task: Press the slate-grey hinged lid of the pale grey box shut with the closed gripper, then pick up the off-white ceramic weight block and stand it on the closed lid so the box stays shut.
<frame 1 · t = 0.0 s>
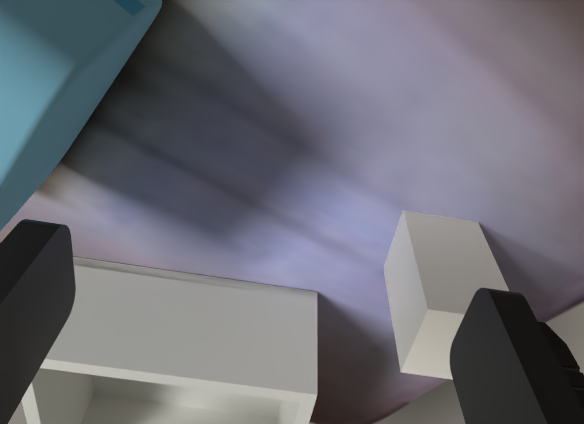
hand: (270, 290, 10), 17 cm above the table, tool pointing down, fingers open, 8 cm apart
ceramic weight: (428, 245, 31), on the table
data package: (70, 58, 25), on the table
storage box: (191, 345, 37), on the table
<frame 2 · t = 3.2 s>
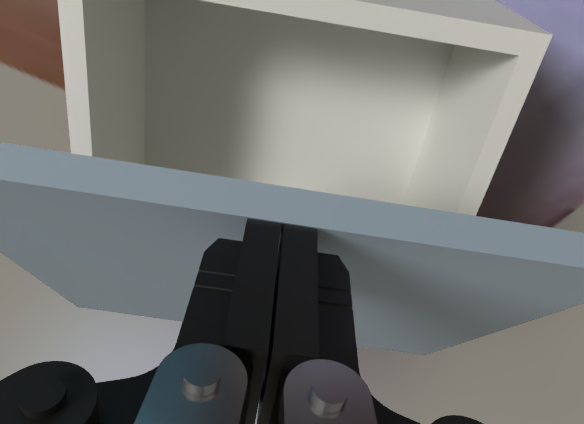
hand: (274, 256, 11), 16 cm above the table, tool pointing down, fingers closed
box lid: (264, 286, 17), point 12 cm above the table, hinge at 34.6°, touching gripper
storage box: (287, 108, 26), on the table
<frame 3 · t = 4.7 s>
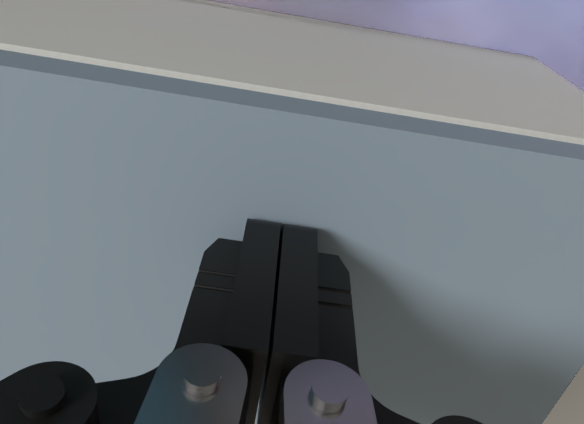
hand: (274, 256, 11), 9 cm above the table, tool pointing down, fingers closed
box lid: (254, 356, 13), point 9 cm above the table, hinge at 1.2°, touching gripper
storage box: (274, 195, 21), on the table
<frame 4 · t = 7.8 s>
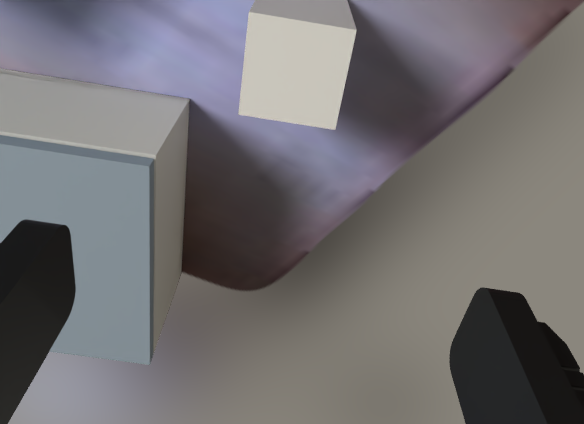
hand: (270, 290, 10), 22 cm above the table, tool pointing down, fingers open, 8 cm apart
box lid: (2, 253, 27), point 9 cm above the table, hinge at 1.1°
ceramic weight: (299, 31, 29), on the table
storage box: (67, 177, 34), on the table
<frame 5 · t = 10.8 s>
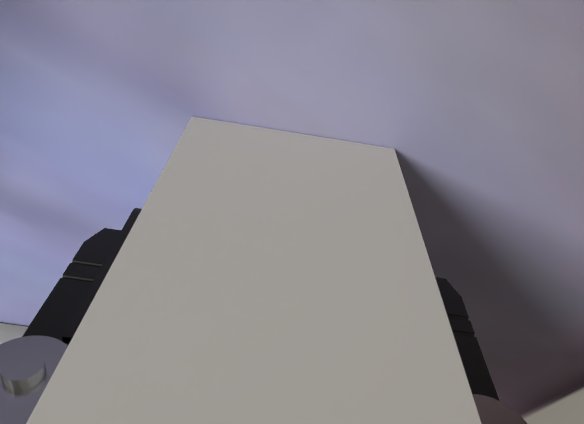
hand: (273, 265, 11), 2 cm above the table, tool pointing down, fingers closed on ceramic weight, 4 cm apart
ceramic weight: (279, 217, 12), on the table, touching gripper
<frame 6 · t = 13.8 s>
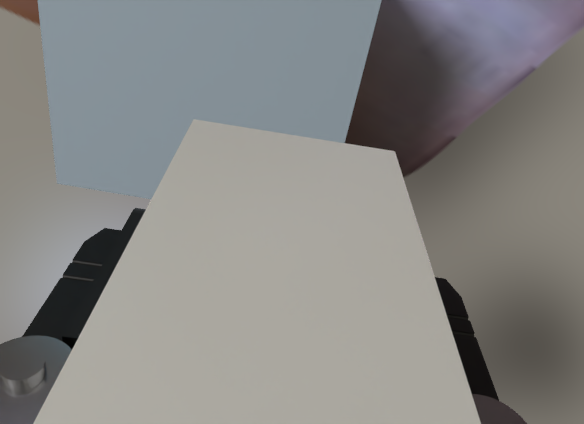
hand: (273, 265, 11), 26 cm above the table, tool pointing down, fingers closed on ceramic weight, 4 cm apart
box lid: (201, 93, 27), point 9 cm above the table, hinge at 1.1°
ceramic weight: (280, 219, 12), point 24 cm above the table, touching gripper
when the fingers open (12 cm above the table, at t = 17.2 s): ceramic weight drops 1 cm, resting on box lid.
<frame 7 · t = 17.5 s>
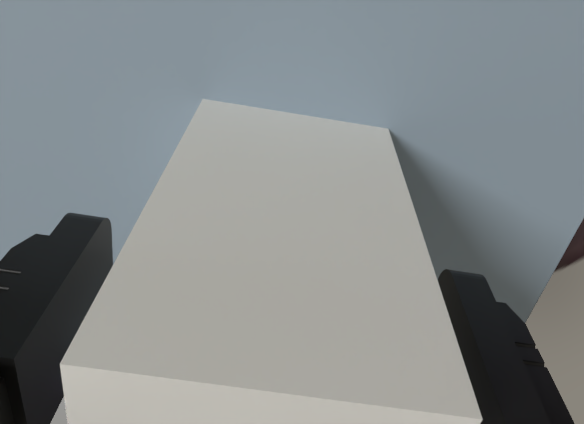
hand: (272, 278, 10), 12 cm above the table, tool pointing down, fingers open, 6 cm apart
box lid: (281, 186, 14), point 8 cm above the table, hinge at -0.2°, touching ceramic weight
ceramic weight: (282, 193, 13), point 9 cm above the table, touching box lid
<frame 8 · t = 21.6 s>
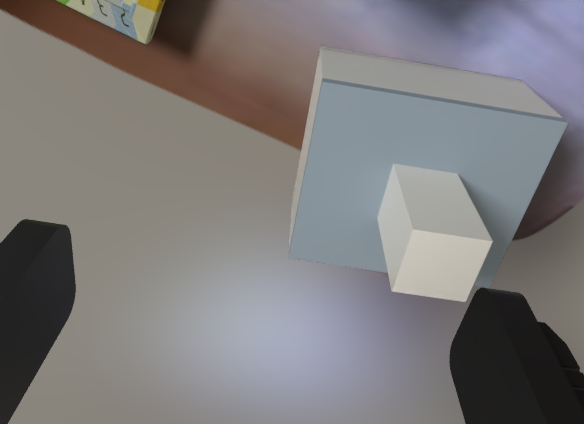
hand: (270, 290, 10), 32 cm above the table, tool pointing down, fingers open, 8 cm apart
box lid: (414, 193, 36), point 8 cm above the table, hinge at -0.3°, touching ceramic weight
ceramic weight: (416, 196, 36), point 9 cm above the table, touching box lid
storage box: (397, 144, 43), on the table
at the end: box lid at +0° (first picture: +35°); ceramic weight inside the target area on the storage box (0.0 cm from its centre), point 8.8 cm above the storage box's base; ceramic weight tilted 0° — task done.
